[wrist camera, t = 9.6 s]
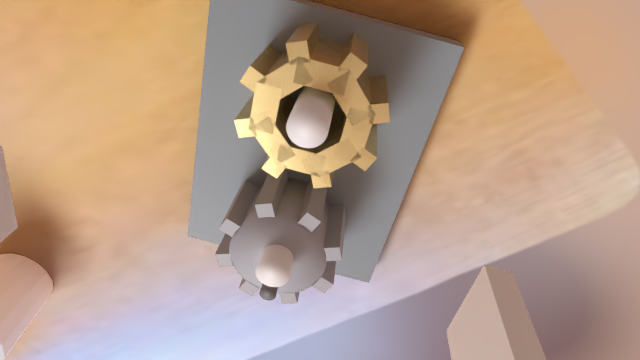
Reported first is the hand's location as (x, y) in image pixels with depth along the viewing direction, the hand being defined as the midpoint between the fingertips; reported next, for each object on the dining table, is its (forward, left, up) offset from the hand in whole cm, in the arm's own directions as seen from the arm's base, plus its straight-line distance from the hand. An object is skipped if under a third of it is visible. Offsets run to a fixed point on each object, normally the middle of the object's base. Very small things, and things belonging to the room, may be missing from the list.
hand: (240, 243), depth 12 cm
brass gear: (+1, +1, -15) cm, 15 cm away
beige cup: (+25, -21, -17) cm, 37 cm away
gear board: (+5, +1, -17) cm, 18 cm away
